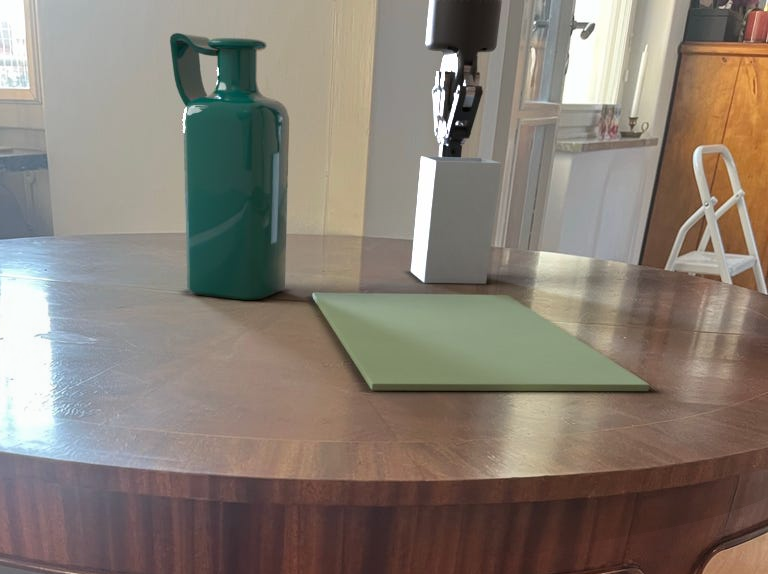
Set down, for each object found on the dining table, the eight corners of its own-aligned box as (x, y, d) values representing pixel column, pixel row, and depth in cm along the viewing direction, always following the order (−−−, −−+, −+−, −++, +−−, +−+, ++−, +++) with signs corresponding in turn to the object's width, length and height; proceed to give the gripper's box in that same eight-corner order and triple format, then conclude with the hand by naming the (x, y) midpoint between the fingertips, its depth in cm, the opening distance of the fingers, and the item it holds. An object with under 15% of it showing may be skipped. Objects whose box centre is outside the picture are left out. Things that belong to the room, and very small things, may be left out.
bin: (469, 272, 111) (483, 158, 105) (486, 283, 105) (501, 162, 99) (410, 271, 110) (421, 156, 104) (424, 282, 104) (435, 160, 98)
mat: (507, 300, 97) (507, 294, 97) (648, 391, 68) (650, 384, 67) (312, 297, 95) (312, 292, 95) (371, 390, 66) (372, 383, 65)
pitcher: (291, 289, 99) (298, 38, 88) (258, 302, 92) (261, 32, 81) (206, 280, 102) (203, 37, 91) (168, 293, 95) (159, 31, 84)
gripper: (519, -7, 94) (495, 187, 103) (483, 3, 105) (464, 177, 114) (445, -10, 93) (427, 186, 102) (417, 1, 105) (403, 176, 113)
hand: (447, 181), depth 108 cm, fingers closed
